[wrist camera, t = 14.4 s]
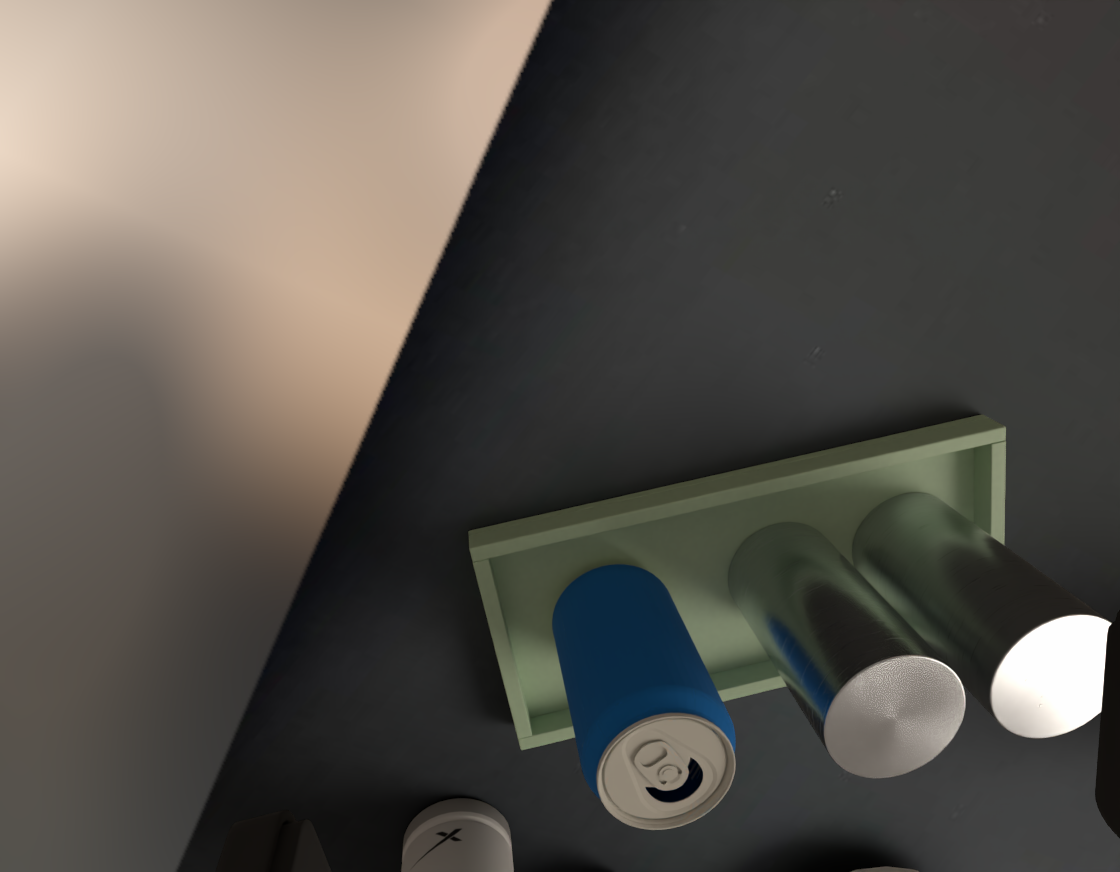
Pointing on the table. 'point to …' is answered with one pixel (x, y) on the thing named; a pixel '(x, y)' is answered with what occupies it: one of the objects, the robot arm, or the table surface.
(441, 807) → the travel mug
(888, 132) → the table surface
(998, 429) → the tray
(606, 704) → the beverage can
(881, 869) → the vase
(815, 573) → the can
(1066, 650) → the can
